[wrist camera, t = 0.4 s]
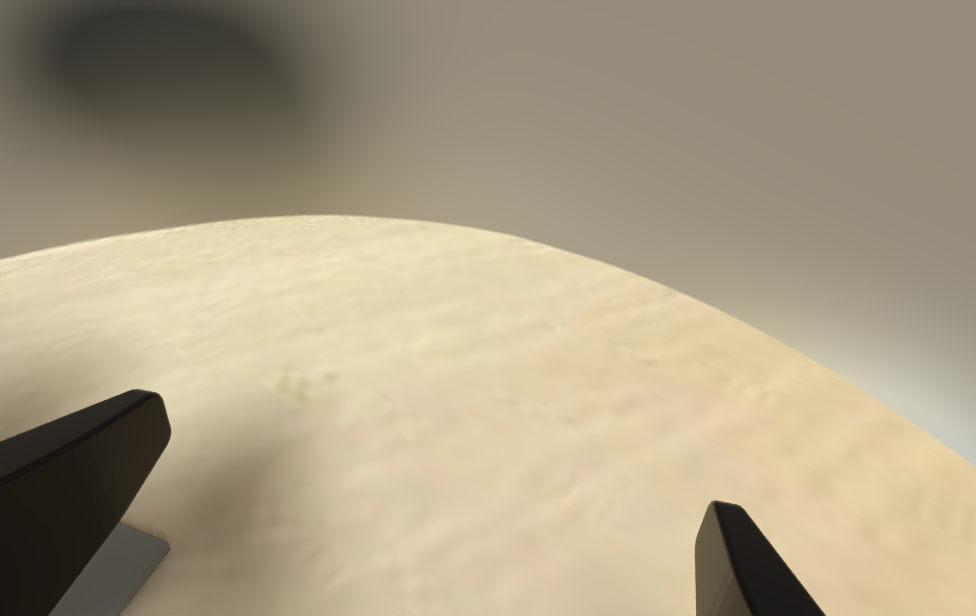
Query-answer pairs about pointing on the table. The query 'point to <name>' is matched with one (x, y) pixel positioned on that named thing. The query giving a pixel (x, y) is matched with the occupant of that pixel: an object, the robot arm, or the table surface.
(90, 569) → the rubber mat
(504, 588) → the table surface
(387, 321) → the table surface
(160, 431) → the robot arm
